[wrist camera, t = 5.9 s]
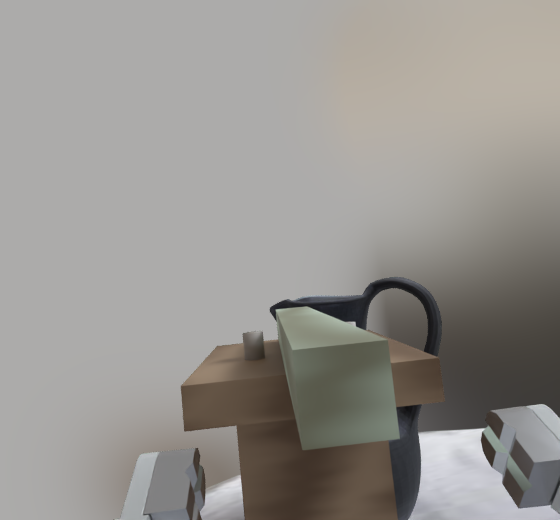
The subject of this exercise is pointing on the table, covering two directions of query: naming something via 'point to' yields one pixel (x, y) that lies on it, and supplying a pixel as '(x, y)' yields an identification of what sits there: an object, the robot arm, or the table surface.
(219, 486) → the table surface
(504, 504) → the table surface
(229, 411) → the shelf stand
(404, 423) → the pitcher
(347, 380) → the bar
